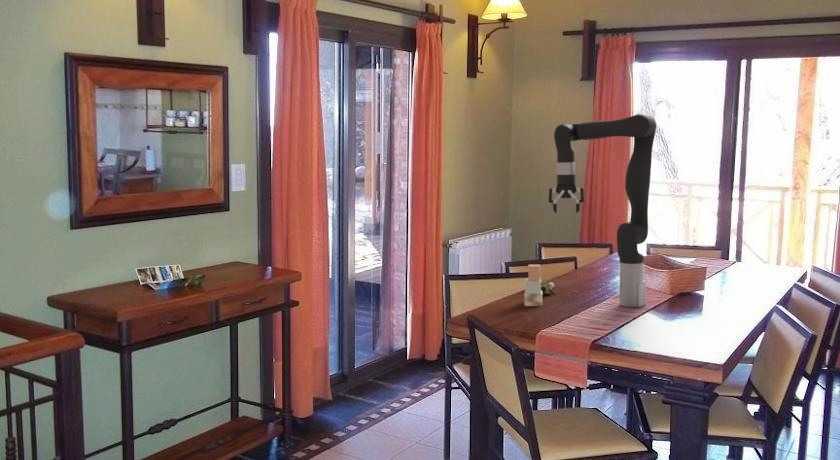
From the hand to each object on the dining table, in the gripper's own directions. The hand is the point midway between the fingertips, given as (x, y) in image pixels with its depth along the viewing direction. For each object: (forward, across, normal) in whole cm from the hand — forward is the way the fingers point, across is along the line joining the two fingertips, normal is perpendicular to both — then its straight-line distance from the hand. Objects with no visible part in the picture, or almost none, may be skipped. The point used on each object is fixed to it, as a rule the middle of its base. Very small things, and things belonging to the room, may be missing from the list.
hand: (566, 212), depth 322 cm
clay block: (+26, +13, +10) cm, 31 cm away
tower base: (+36, +13, +11) cm, 40 cm away
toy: (+36, +9, -7) cm, 38 cm away
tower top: (+31, +13, +11) cm, 36 cm away
